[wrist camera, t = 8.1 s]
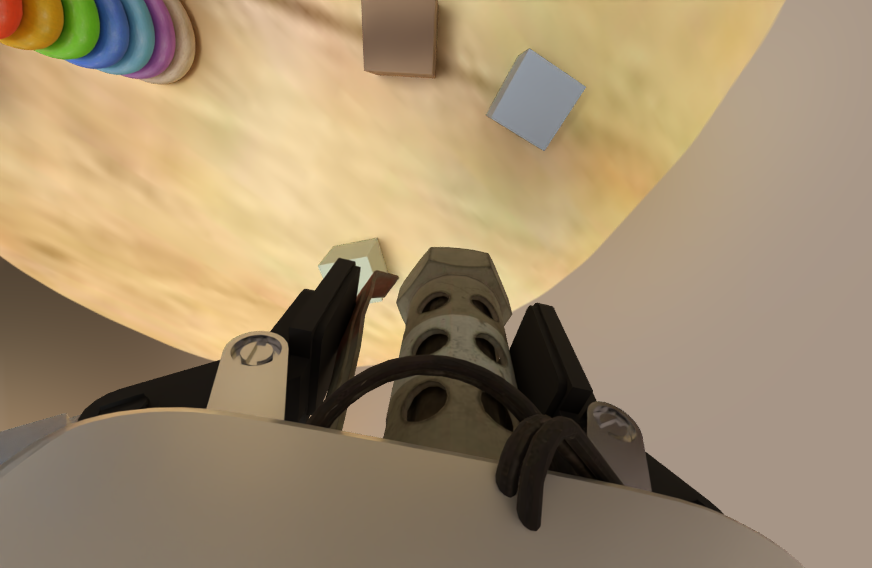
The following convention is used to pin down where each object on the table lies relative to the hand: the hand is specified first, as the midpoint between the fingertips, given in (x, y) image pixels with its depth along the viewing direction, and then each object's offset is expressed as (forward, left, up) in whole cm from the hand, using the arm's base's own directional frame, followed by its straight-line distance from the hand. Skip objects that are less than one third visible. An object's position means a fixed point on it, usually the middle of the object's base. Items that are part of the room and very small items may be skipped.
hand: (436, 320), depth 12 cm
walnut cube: (-10, -6, -24) cm, 27 cm away
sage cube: (+11, -7, -24) cm, 28 cm away
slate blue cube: (-8, +5, -24) cm, 26 cm away
